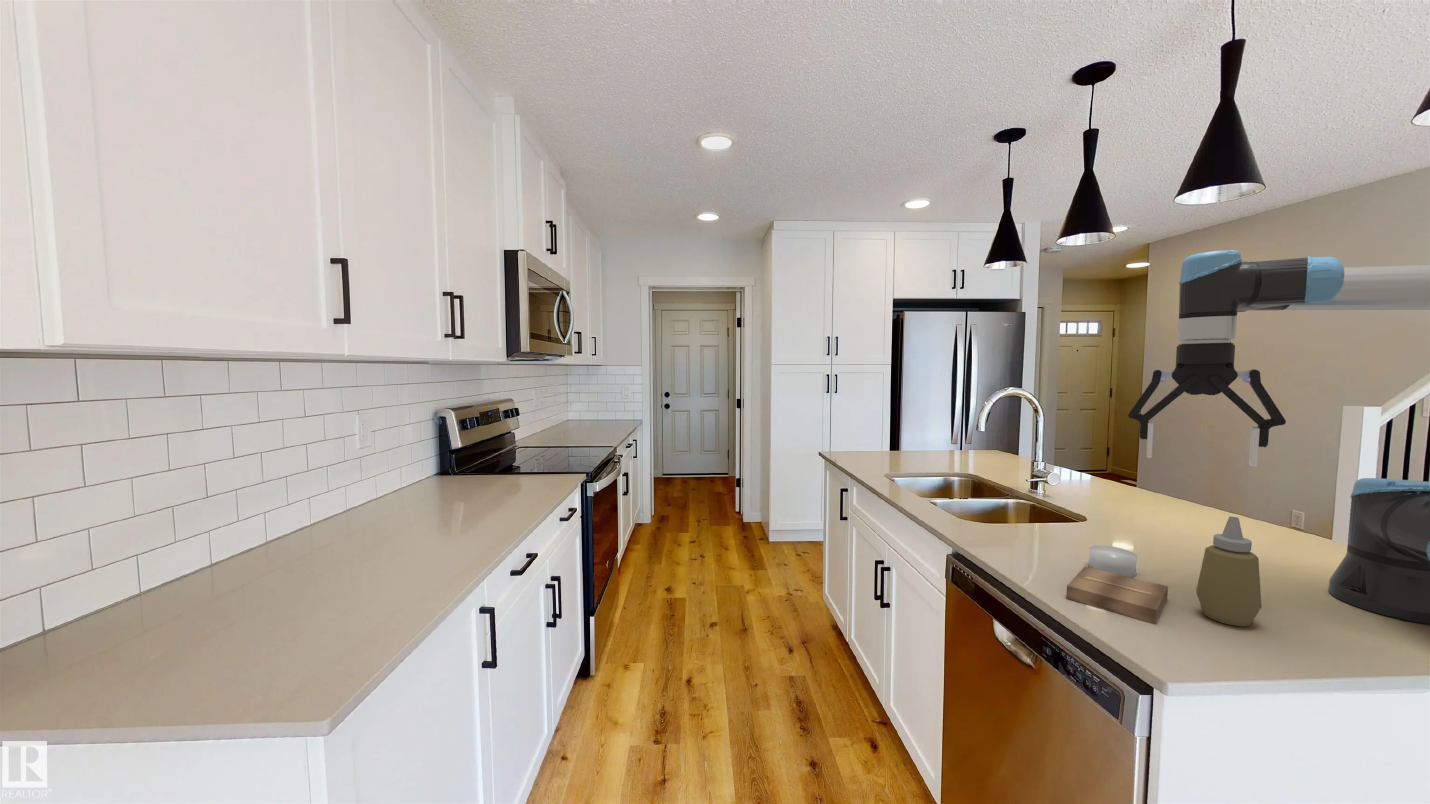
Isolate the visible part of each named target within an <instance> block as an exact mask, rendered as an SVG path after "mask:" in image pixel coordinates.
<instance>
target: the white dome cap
mask: <svg viewBox="0 0 1430 804" xmlns="http://www.w3.org/2000/svg"><path fill="white" fill-rule="evenodd" d="M1088 557H1089V559H1088V567H1090V568H1094V569H1098V570H1102V571H1106V572H1110V573H1115V574H1119V575H1123V576H1127V577H1131V578H1136V576H1137V562H1138V556H1137V553H1134V552H1133V551H1130V550H1128V549H1125V548H1121V547H1118V546H1111V545H1092V546H1090V547H1089V556H1088Z"/></svg>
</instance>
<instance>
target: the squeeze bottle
mask: <svg viewBox="0 0 1430 804" xmlns="http://www.w3.org/2000/svg"><path fill="white" fill-rule="evenodd" d="M1212 538H1213V539H1212V545H1210V546H1207V547H1205V549H1204V553H1203V557H1202V558H1203V559H1202V563H1201V566H1200V567H1201V568H1200V572H1199V575H1198V576H1199V577H1198V581H1197V586H1196V595H1197V597H1198V598H1197V599H1198V601H1199V603H1200V607H1201V609H1202V613H1203V615H1205V616H1206V617H1208V618H1210V619H1212V620H1213V621H1216V622H1219V623H1223V624H1226V625H1230V626H1236V627H1237V626H1238V627H1248V626H1250V625H1252V623H1253V621H1254V620H1255V619H1256V616H1257V615H1258V613H1259V612H1260V611H1261V609H1262V606H1263V605H1262V593H1261V576H1260V561H1259V556H1257V555H1256V554H1255V553H1253V552H1252V546H1253V545H1252V543H1253V542H1252V540H1251V539H1248V538H1245V537H1244V536H1243V532H1242V527H1241V523H1240V519H1239V517H1237V516H1231V515H1230V516H1228V519H1227V521H1226V523H1225V526H1224V529H1223V531H1222V533H1216V534H1213V537H1212Z"/></svg>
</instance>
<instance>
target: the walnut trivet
mask: <svg viewBox="0 0 1430 804" xmlns="http://www.w3.org/2000/svg"><path fill="white" fill-rule="evenodd" d="M1168 592H1169V586H1167V585H1163V584H1160V583H1156V582H1153V581H1152V582H1151V581H1149V580H1144V579H1139V578H1136V577H1132V578H1131V577H1127V576H1123V575H1119V574H1115V573H1110V572H1106V571H1102V570H1098V569H1094V568H1090V567H1089V566H1084V567H1083V568H1081V570H1080V571H1078V573H1077V574H1076V575H1075V576H1074V577H1073V578H1072V580H1071V581H1069V583H1068V584H1067V585H1066V592H1065V593H1066V595H1065V596H1066V600H1070V599H1071V601H1075V602H1077V601H1079V602H1078V603H1082V604H1085V605H1088V606H1093V607H1096V608H1098V607H1099V608H1098V609H1102V608H1103V609H1102V610H1105V611H1110V612H1112V613H1116V614H1119V615H1122V614H1123V616H1126V617H1130V618H1133V619H1136V620H1140V621H1143V622H1147V623H1150V624H1154V625H1156V624H1157V622H1158V620H1159V618H1160V617H1161V613H1162V611H1163V610H1164V608H1165V605H1166V603H1167V601H1168V596H1169V595H1168V594H1169V593H1168Z"/></svg>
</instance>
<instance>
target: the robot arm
mask: <svg viewBox="0 0 1430 804" xmlns="http://www.w3.org/2000/svg"><path fill="white" fill-rule="evenodd" d="M1241 256H1242V255H1241V252H1240V251H1239V250H1237V249H1236V250H1235V249H1229V250H1228V249H1227V250H1226V249H1224V250H1223V249H1222V250H1214V251H1213V250H1211V251H1205V252H1199V253H1196V254H1195V253H1194V254H1192V255H1189V256H1187V257H1186V258H1185V259H1183V261H1182V263H1181V268H1180V269H1181V270H1180V278H1179V281H1178V284H1179V299H1178V300H1179V301H1178V318H1177V331H1176V332H1177V334H1176V340H1177V341H1178V342H1180V344H1178V345H1177V346H1176V354H1175V368H1174V370H1173V371H1168V370H1161V369H1155V370H1154V371H1153V373H1152V378H1151V381H1150V383H1149V384H1148V386H1147V387H1146V389H1145V390H1144V392H1143V393H1142V394H1141V396H1140V397H1139V398H1138V400H1137V401H1136V403H1135V404H1134V405H1133V407H1132V408H1131V410H1130V411H1129V412H1128V418H1129V419H1132V420H1136V421H1138V422H1139V438H1140V440H1147V441H1146V458H1147V459H1153V458H1152V457H1153V443H1154V421H1151V419H1153V418H1154V417H1155V416H1157V414H1159V413H1160V412H1162V410H1163V409H1165V408H1166V407H1167V406H1168V405H1170V404H1171V403H1172V402H1173V401H1175V400H1176V399H1177V398H1178V397H1180V396H1181V395H1182V394H1184V393H1186V394H1187V395H1192V396H1198V395H1206V396H1217V395H1219V394H1221V393H1222V394H1223V395H1224V396H1225V397H1226V398H1227V399H1229V400H1230V401H1231V402H1232V403H1234V405H1236V407H1237V408H1239V409H1240V410H1241V411H1242V412H1243V413H1244V414H1245V415H1246V416H1248V418H1250V419H1251V420H1252V421H1253V422H1254V423H1255V424H1256V425H1257V426H1251V427H1250V437H1249V439H1250V441H1249V442H1250V443H1249V455H1248V465H1249V466H1250V467H1251V468H1252V467H1254V468H1258V459H1259V457H1258V456H1259V447H1260V448H1267V447H1268V445H1269V435H1270V429H1271V428H1274V427H1278V426H1284V425H1285V424H1286V423H1287V421H1286V419H1285V418H1284V416H1283V414H1282V413H1281V411H1280V409H1279V408H1278V407H1277V405H1276V404H1275V401H1274V400H1273V399H1272V397H1271V395H1270V394H1269V393H1268V391H1267V390H1266V388H1265V386H1264V385H1263V384H1262V380H1261V379H1262V377H1261V372H1260V370H1258V369H1255V368H1254V369H1253V368H1252V369H1249V370H1241V371H1236V369H1235V356H1236V355H1235V354H1236V344H1234V343H1233V342H1232V340H1235V339H1236V337H1237V323H1238V320H1237V319H1238V313H1245V312H1247V311H1430V264H1426V265H1425V264H1424V265H1418V264H1417V265H1389V266H1383V265H1382V266H1381V265H1379V266H1351V267H1349V266H1348V267H1347V266H1346V267H1344V265H1343V263H1342V262H1341V261H1340V260H1339V259H1338V258H1336V257H1334V256H1309V255H1308V256H1306V257H1298V258H1286V259H1285V258H1284V259H1273V260H1272V259H1271V260H1262V261H1243V259H1242V257H1241ZM1168 378H1172V380H1174V382H1175V383H1176V384H1177V386H1176V387H1175V388H1173V389H1172V390H1171V391H1169V393H1167V394H1166V396H1164V397H1163V398H1161V400H1159V401H1158V402H1157V403H1156V404H1154V405H1153V406H1152V407H1150V408H1149V409H1148V410H1147V411H1146V412H1145V413H1140V412H1141V411H1142V409H1143V408H1144V406H1145V405H1146V404H1147V402H1148V401H1149V400H1150V398H1151V397H1152V396H1153V393H1155V391H1156V390H1157V388H1158V386H1159V384H1160V383H1165V382H1166V381H1167V379H1168ZM1237 378H1240V379H1241V380H1242V382H1244V383H1246V384H1249V386H1250V388H1251V389H1252V391H1253V392H1254V394H1255V395H1256V397H1257V398H1258V400H1259V401H1260V403H1261V405H1262V406H1263V408H1264V409H1265V411H1266V412H1267V414H1268V416H1269V417H1270V418H1267V419H1266V418H1264V417H1263V416H1262V415H1261V414H1259V413H1258V412H1257V411H1256V410H1255V409H1254V408H1253V407H1252V406H1251V405H1250V404H1248V403H1247V401H1245V400H1244V399H1243V398H1242V397H1241V396H1239V395H1238V393H1236V392H1235V391H1234V390H1233V389H1232V388H1230V385H1231V384H1232V383H1233V382H1235V381H1236V379H1237ZM1350 499H1351V502H1350V512H1349V524H1348V525H1349V526H1348V537H1347V547H1346V553H1345V556H1344V557H1343V559H1342V560H1341V561H1340V563H1339V565H1338V566H1337V568H1336V569H1335V570H1334V572H1333V574H1332V575H1331V577H1330V578H1329V580H1328V581H1329V582H1328V593H1330V595H1332V596H1333V597H1334V598H1336V599H1338V600H1340V601H1342V602H1344V603H1346V604H1349V605H1351V606H1354V607H1357V608H1359V609H1363V610H1366V611H1369V612H1372V613H1376V614H1379V615H1383V616H1387V617H1389V618H1390V617H1392V618H1395V619H1400V620H1404V621H1408V622H1414V623H1419V624H1427V625H1428V624H1429V625H1430V481H1426V480H1425V481H1423V480H1413V479H1412V480H1410V479H1398V478H1394V479H1393V478H1381V477H1380V478H1378V477H1377V478H1376V477H1362V478H1360V479H1357V480H1356V481H1355V482H1354V485H1353V489H1352V491H1351V493H1350Z"/></svg>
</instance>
